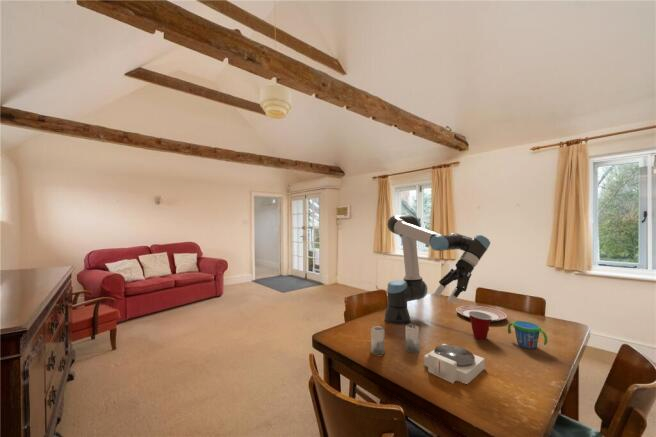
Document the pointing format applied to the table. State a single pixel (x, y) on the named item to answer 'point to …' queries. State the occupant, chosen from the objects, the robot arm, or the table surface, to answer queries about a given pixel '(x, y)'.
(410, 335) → the silver metal cylinder
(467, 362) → the scale pan
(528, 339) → the snack cup
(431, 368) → the scale
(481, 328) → the plastic cup
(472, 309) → the dinner plate
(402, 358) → the table surface
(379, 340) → the cylinder
